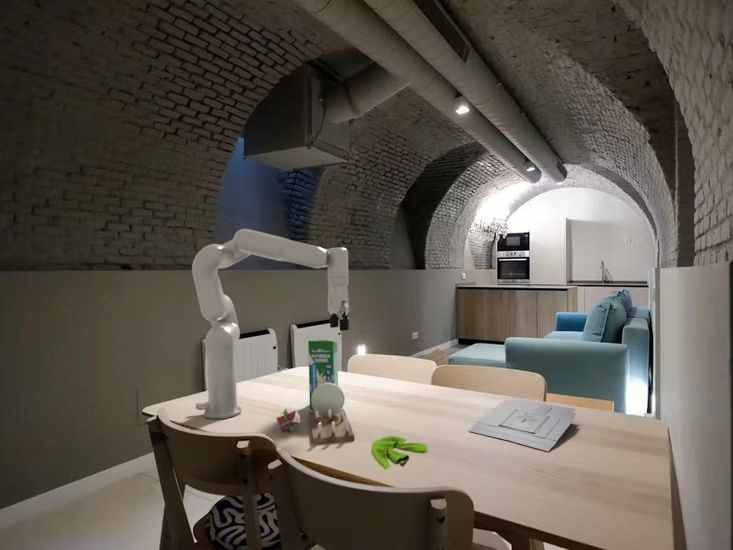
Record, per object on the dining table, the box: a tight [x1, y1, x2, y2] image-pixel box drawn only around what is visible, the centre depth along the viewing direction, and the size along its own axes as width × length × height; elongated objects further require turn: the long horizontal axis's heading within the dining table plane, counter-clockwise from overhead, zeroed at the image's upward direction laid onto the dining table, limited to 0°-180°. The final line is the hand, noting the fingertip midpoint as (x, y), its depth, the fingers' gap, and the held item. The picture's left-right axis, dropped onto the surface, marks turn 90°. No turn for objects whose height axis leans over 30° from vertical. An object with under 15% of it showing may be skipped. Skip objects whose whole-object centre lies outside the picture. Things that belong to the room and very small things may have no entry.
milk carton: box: [308, 337, 339, 411], centre depth 160 cm, size 9×9×25 cm
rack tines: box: [313, 408, 349, 437], centre depth 139 cm, size 9×24×4 cm, turn 10°
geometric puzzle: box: [275, 408, 302, 434], centre depth 136 cm, size 7×7×8 cm
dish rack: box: [308, 410, 355, 445], centre depth 139 cm, size 12×25×2 cm, turn 10°
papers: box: [468, 397, 577, 452], centre depth 135 cm, size 24×30×4 cm
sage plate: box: [311, 383, 345, 417], centre depth 144 cm, size 11×1×11 cm, turn 100°
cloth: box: [371, 435, 428, 470], centre depth 118 cm, size 20×22×2 cm
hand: (339, 328), depth 157 cm, fingers open, 9 cm apart
